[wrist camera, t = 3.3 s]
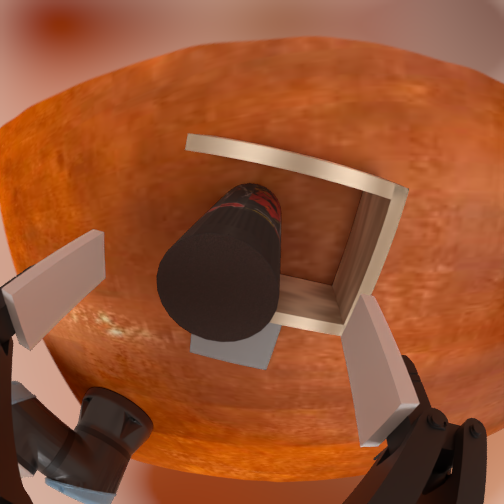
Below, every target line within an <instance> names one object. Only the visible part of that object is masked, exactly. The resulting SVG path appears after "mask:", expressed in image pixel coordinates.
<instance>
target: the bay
mask: <svg viewBox="0 0 504 504" xmlns="http://www.w3.org/2000/svg"><path fill="white" fill-rule="evenodd" d="M185 150H189V151H195V152H201V153H207V154H213V155H219V156H224V157H230V158H235V159H240V160H245V161H250V162H255V163H259V164H264V165H269V166H273V167H277V168H282V169H286V170H290V171H294V172H298V173H302V174H306V175H310V176H314V177H318V178H321V179H325V180H329V181H332V182H336V183H339V184H343V185H346V186H350V187H353V188H356V189H360V190H363V193H362V197H361V200H360V203H359V207H358V210H357V213H356V217H355V220H354V223H353V226H352V230H351V233H350V236H349V239H348V242H347V245H346V248H345V251H344V254H343V257H342V260H341V262H340V265H339V268H338V271H337V274H336V276H335V279H334V282H333V285H332V286H331V285H327V284H322V283H318V282H313V281H309V280H304V279H300V278H295V277H291V276H286V275H282V274H280V293H279V301H278V306H277V310H276V312H275V314H274V316H273V318H272V319H271V321H270V323H274V324H279V325H284V326H289V327H294V328H299V329H304V330H309V331H315V332H320V333H326V334H332V335H338V336H342V333H343V331H344V329H345V327H346V325H347V323H348V321H349V319H350V317H351V314H352V312H353V310H354V308H355V306H356V303H357V301H358V299H359V296H360V294H366V295H370V296H371V294H372V291H373V289H374V287H375V284H376V282H377V280H378V277H379V275H380V272H381V270H382V267H383V265H384V262H385V260H386V257H387V254H388V252H389V249H390V246H391V244H392V241H393V238H394V235H395V232H396V229H397V227H398V224H399V221H400V217H401V214H402V211H403V208H404V205H405V202H406V198H407V195H408V191H409V189H408V188H406V187H403V186H401V185H398V184H396V183H394V182H391V181H389V180H386V179H384V178H381V177H378V176H375V175H372V174H369V173H366V172H363V171H360V170H357V169H354V168H351V167H347V166H344V165H341V164H337V163H334V162H330V161H327V160H323V159H319V158H316V157H312V156H308V155H304V154H300V153H296V152H292V151H288V150H284V149H279V148H275V147H270V146H266V145H261V144H256V143H251V142H246V141H241V140H235V139H230V138H224V137H218V136H211V135H200V134H188V136H187V142H186V148H185Z"/></svg>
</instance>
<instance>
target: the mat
mask: <svg viewBox="0 0 504 504" xmlns="http://www.w3.org/2000/svg"><path fill="white" fill-rule="evenodd" d="M281 326H282V325H279V324H274V323H270V322H269V323H268V324H267V325H266V326H265V327H264V328H263V329H262V330H261V331H260V332H258V333H257V334H255V335H253V336H251V337H249V338H247V339H243V340H239V341H235V342H217V341H211V340H206V339H203V338H201V337H198V336H196V335H193V334H191V344H190V352H191V353H195V354H199V355H202V356H206V357H210V358H214V359H218V360H222V361H226V362H230V363H235V364H239V365H244V366H248V367H253V368H258V369H263V370H266V369H267V366H268V363H269V361H270V358H271V355H272V352H273V349H274V346H275V344H276V341H277V338H278V335H279V332H280V329H281Z"/></svg>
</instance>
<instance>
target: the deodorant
mask: <svg viewBox="0 0 504 504" xmlns="http://www.w3.org/2000/svg"><path fill="white" fill-rule="evenodd" d="M280 258H281V208H280V204H279V202H278V200H277V198H276V197H275V195H274V194H273V193H272V192H271V191H270V190H268V189H267V188H266V187H263V186H261V185H258V184H251V183H248V184H241V185H239V186H236V187H234V188H233V189H231V190H230V191H229V192H228V193H227V194H226V195H224V196H223V197H222V198H221V199H220V200H219V201H218V202H217V203H216V204H215V205H214V206H213V207H212V208H211V209H210V210H209V211H207V212H206V213H205V214H204V215H203V216H202V217H201V218H200V219H199V220H198V221H197V222H196V223H195V224H194V225H193V226H192V227H191V228H190V229H189V230H188V231H187V232H186V233H185V234H184V235H183V236H182V237H181V238H180V239H179V240H178V241H177V242H176V243H175V244H174V245H173V246H172V247H171V248H170V249H169V250H168V251H167V252H166V254H165V255H164V257H163V259H162V260H161V262H160V264H159V268H158V273H157V291H158V294H159V297H160V299H161V302H162V305H163V306H164V308H165V309H166V311H167V312H168V314H169V316H170V317H171V318H172V319H173V320H174V321H175V322H176V323H177V324H178V325H179V326H181V327H182V328H184V329H185V330H187V331H188V332H190V333H191V334H193V335H196V336H198V337H201V338H203V339H206V340H211V341H217V342H235V341H239V340H243V339H247V338H249V337H251V336H253V335H255V334H257V333H258V332H260V331H261V330H262V329H263V328H264V327H265V326H266V325H267V324H268V323H269V322H270V321H271V319H272V318H273V316H274V314H275V312H276V310H277V306H278V301H279V293H280Z"/></svg>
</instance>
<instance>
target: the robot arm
mask: <svg viewBox="0 0 504 504" xmlns="http://www.w3.org/2000/svg"><path fill="white" fill-rule="evenodd" d="M105 278H106V277H105V256H104V232H102V231H98V230H94V229H93V230H91V231H89V232H87V233H86V234H84V235H82V236H80V237H79V238H77V239H75V240H74V241H72V242H70V243H69V244H67V245H65V246H64V247H62V248H61V249H59V250H57V251H56V252H54V253H53V254H51V255H50V256H48V257H46V258H45V259H43V260H42V261H40V262H39V263H37V264H35V265H33V266H30V267H28V268H27V269H25V270H24V271H23V272H22V273H20V274H18V275H17V277H14V278H13V279H11V280H10V281H8V282H7V283H6V284H4V285H3V286H1V287H0V504H33V502H32V501H31V499H30V497H29V495H28V494H27V492H26V491H25V489H24V487H23V484H22V481H21V478H23V477H33V476H34V474H35V473H36V471H37V470H38V471H40V472H41V473H42V474H44V475H45V476H47V477H46V478H45V483H46V484H47V485H48V486H50V487H52V488H54V489H55V490H57V491H59V492H61V493H63V494H65V495H67V496H69V497H71V498H73V499H75V500H78V501H80V502H82V503H84V504H111V502H112V500H113V499H114V497H115V496H116V492H117V490H118V487H119V485H120V482H121V480H122V477H123V475H124V472H125V470H126V467H127V465H128V462H129V460H130V458H131V456H132V454H133V453H134V452H135V451H136V450H137V449H138V448H139V447H140V446H141V445H142V444H143V443H144V442H145V441H146V440H147V439H148V438H149V436H150V434H151V432H152V429H153V424H152V422H151V420H150V418H149V417H148V416H147V415H146V414H145V413H144V412H143V411H142V410H141V409H140V408H139V407H138V406H136V405H135V404H134V403H132V402H131V401H129V400H128V399H126V398H124V397H123V396H121V395H119V394H117V393H115V392H112V391H110V390H107V389H103V388H98V387H93V388H90V389H89V390H88V391H87V393H86V394H85V396H84V397H83V400H82V405H81V410H80V416H79V421H78V424H77V426H76V427H75V429H74V431H73V430H72V429H70V428H69V427H68V426H67V425H66V424H64V423H63V422H62V421H61V420H60V419H59V418H58V417H56V416H55V415H54V414H53V413H52V412H51V411H50V410H48V409H47V408H46V407H45V406H44V405H43V404H42V403H41V402H40V401H39V400H38V399H37V398H36V396H35V395H33V394H32V393H31V392H29V391H28V390H27V389H26V388H25V387H24V386H23V385H22V384H21V383H20V382H17V381H11V373H12V354H13V340H12V336H13V335H14V334H15V333H16V336H17V338H18V341H19V344H21V345H22V346H24V347H25V348H27V349H28V350H30V351H31V350H32V349H33V348H34V347H35V345H37V344H38V343H39V342H40V341H41V339H42V338H43V337H44V336H45V335H46V334H47V333H48V332H49V331H50V330H51V329H52V328H53V327H54V326H55V325H56V324H57V323H58V322H59V321H60V320H61V319H62V318H63V317H64V316H65V315H66V314H67V313H68V312H70V311H71V310H72V309H73V308H74V307H75V306H76V305H77V304H78V303H79V302H80V301H81V300H82V299H83V298H84V297H85V296H86V295H88V294H89V293H90V292H91V291H92V290H93V289H94V288H95V287H96V286H97V285H98V284H100V283H101V282H102V281H103V280H104V279H105ZM341 341H342V345H343V350H344V355H345V360H346V365H347V370H348V375H349V380H350V385H351V391H352V396H353V402H354V408H355V414H356V420H357V427H358V433H359V440H360V447H372V446H379V445H380V444H381V443H382V442H383V441H384V440H385V439H387V444H388V446H387V447H386V448H385V449H384V450H383V451H382V452H381V453H379V454H378V455H377V456H376V457H375V458H374V459H373V460H376V459H377V458H378V459H377V460H376V462H375V463H374V465H373V466H372V467H371V469H370V470H369V471H368V473H367V474H366V475H365V477H364V478H363V479H362V481H361V482H360V483H359V484H358V486H357V487H356V488H355V489H354V491H353V492H352V493H351V494H350V495H349V497H348V498H347V499H346V500H345V501H344V502H343V504H483V502H484V494H485V483H486V466H487V465H486V464H487V438H486V437H487V435H486V429H485V427H484V426H483V424H482V423H481V422H480V421H479V420H477V419H475V418H469V419H467V420H466V421H465V422H464V423H463V424H462V425H461V426H459V425H455V424H451V423H448V419H447V418H446V416H445V415H444V414H443V413H442V412H441V411H440V410H438V409H435V408H431V405H430V402H429V400H428V397H427V394H426V392H425V389H424V387H423V384H422V382H421V380H420V377H419V375H417V374H418V372H417V370H416V368H415V365H414V364H413V362H412V361H411V360H410V359H409V358H408V357H407V356H406V355H401V354H400V352H399V349H398V347H397V344H396V342H395V340H394V338H393V335H392V333H391V331H390V329H389V326H388V324H387V322H386V320H385V318H384V315H383V313H382V311H381V309H380V307H379V305H378V303H377V301H376V299H375V297H374V296H370V295H366V294H360V296H359V299H358V301H357V303H356V306H355V308H354V310H353V312H352V314H351V317H350V319H349V321H348V323H347V325H346V327H345V329H344V331H343V333H342V336H341ZM452 467H453V469H452V474H451V468H452Z"/></svg>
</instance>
